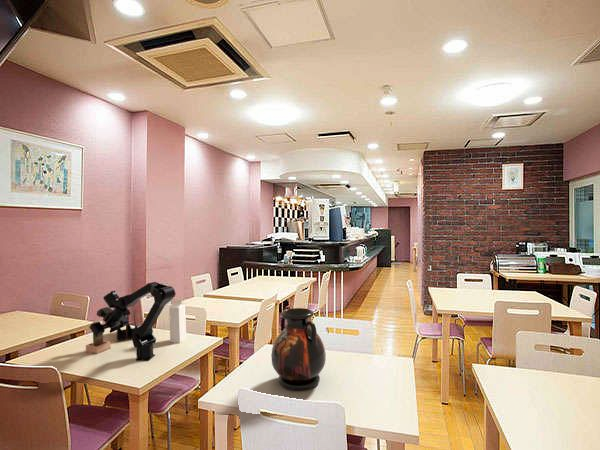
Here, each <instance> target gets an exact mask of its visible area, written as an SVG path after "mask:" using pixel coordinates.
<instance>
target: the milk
mask: <svg viewBox="0 0 600 450" xmlns="http://www.w3.org/2000/svg"><path fill="white" fill-rule="evenodd" d="M168 309H169V337H170V339H169V340H170V343H177V344H181V343H182V342H184V341H186V340H187V319H186V318H187V317H186V316H187V315H186V304H184V303H183V301H182V300H179V299H178V300H177V299H172V303H170V306H168Z"/></svg>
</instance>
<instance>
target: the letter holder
mask: <svg viewBox="0 0 600 450" xmlns="http://www.w3.org/2000/svg"><path fill="white" fill-rule="evenodd" d="M133 313H134V314H133V319H134V321H133V322H134V327H133V328H132V326H131V325H130V322H129V323H128V325H126V326H125V329H122V328H120V329H118V330H116V343H121V342H129V341H132V334H133V333H132V332H133V331H134V328H135V327H136V326H138V325H139V324H138V311H137V308H134V311H133ZM129 316H130V315H127V316H126V317H127V319H128V320H130V317H129Z"/></svg>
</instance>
